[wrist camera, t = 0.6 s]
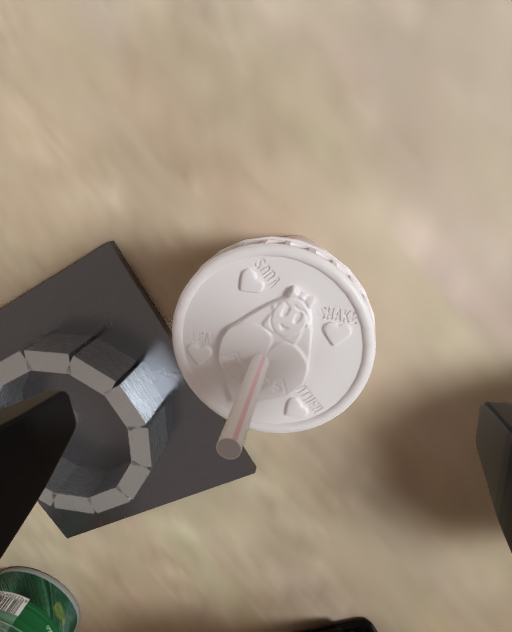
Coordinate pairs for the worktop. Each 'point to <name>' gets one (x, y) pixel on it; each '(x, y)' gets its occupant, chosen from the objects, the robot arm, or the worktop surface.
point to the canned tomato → (35, 603)
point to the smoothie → (274, 337)
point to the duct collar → (111, 395)
